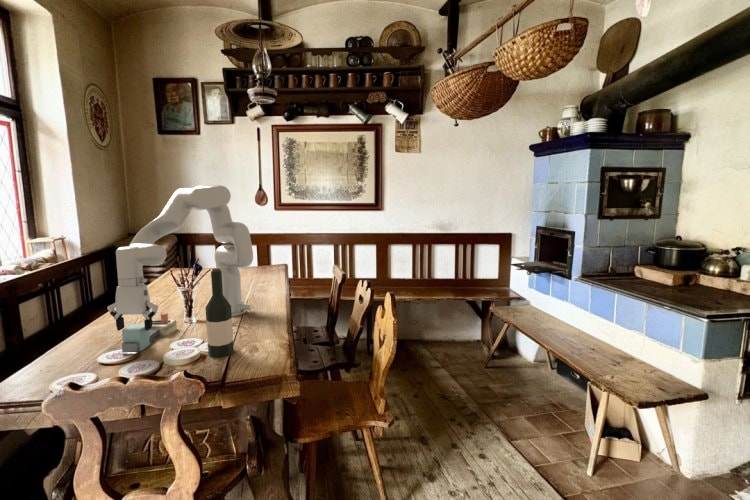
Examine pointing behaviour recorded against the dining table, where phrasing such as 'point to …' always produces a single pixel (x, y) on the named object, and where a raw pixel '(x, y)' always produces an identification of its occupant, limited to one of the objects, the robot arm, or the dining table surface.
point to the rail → (134, 345)
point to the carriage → (136, 335)
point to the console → (164, 326)
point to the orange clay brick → (164, 317)
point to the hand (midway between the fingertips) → (134, 329)
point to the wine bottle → (219, 319)
